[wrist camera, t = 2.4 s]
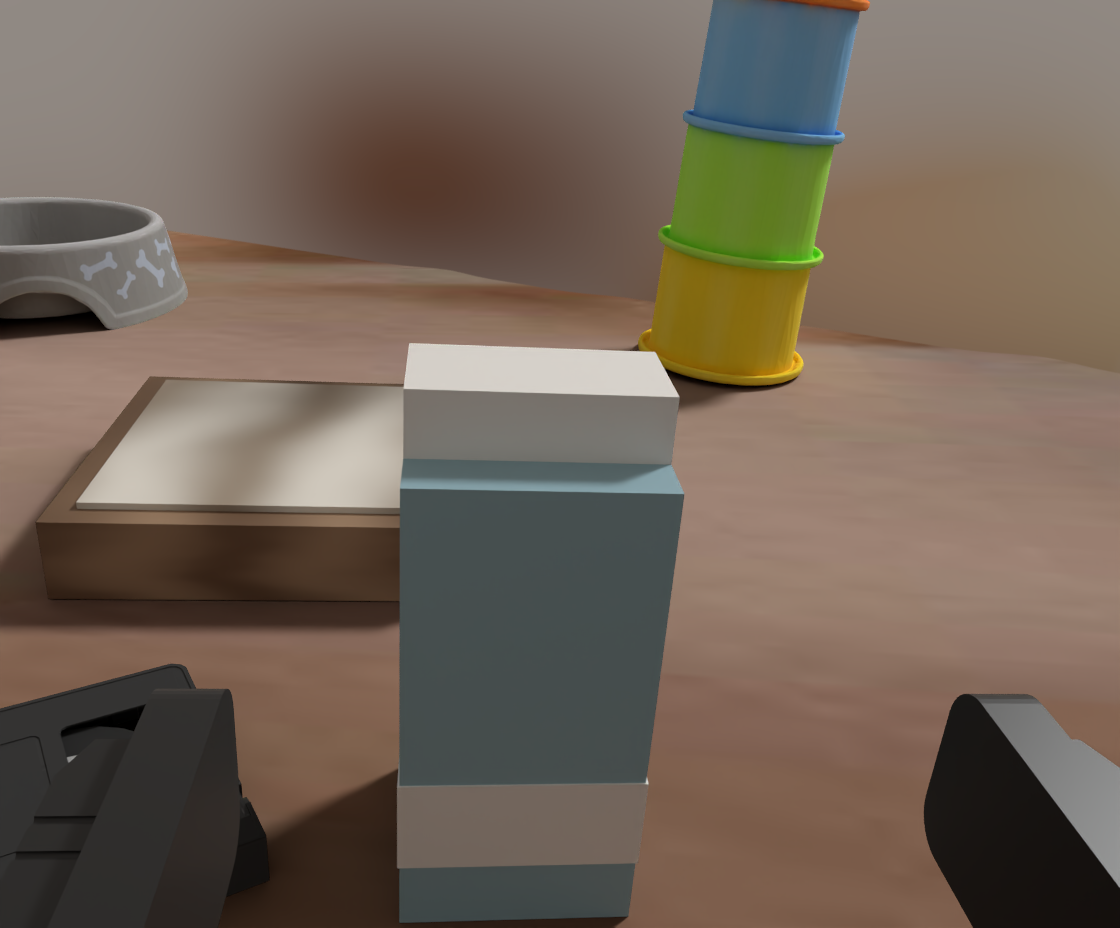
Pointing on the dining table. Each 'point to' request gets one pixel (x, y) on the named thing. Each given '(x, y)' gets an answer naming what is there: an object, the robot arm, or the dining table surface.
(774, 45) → the stacking cups
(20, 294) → the dog bowl
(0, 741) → the vhs tape
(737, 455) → the dining table surface
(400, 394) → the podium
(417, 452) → the carton
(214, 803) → the robot arm
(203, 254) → the dining table surface
